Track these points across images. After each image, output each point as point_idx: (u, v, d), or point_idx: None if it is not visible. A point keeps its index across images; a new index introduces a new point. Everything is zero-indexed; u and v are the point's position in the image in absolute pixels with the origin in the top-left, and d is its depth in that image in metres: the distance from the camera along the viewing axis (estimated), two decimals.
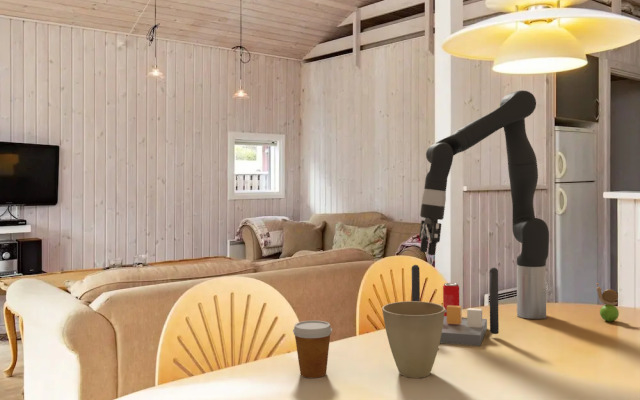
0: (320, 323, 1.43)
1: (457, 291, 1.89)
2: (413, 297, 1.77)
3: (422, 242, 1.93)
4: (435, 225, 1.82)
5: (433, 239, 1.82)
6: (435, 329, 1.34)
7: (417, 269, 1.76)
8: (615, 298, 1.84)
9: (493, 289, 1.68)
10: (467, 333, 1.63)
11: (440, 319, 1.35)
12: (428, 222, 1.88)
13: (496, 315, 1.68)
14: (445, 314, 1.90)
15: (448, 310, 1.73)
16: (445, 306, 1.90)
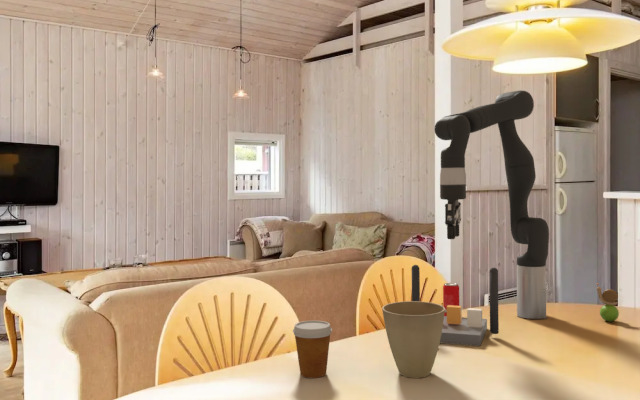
0: (320, 323, 1.43)
1: (457, 291, 1.89)
2: (413, 297, 1.77)
3: None
4: (447, 206, 1.66)
5: (446, 222, 1.66)
6: (435, 329, 1.34)
7: (417, 269, 1.76)
8: (615, 298, 1.84)
9: (493, 289, 1.68)
10: (467, 333, 1.63)
11: (440, 319, 1.35)
12: None
13: (496, 315, 1.68)
14: (445, 314, 1.90)
15: (448, 310, 1.73)
16: (445, 306, 1.90)
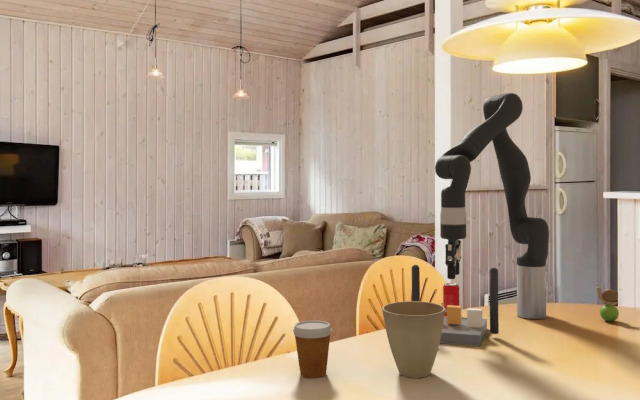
0: (320, 323, 1.43)
1: (457, 291, 1.89)
2: (413, 297, 1.77)
3: None
4: (447, 247, 1.67)
5: (446, 262, 1.67)
6: (435, 329, 1.34)
7: (417, 269, 1.76)
8: (615, 298, 1.84)
9: (493, 289, 1.68)
10: (467, 333, 1.63)
11: (440, 319, 1.35)
12: None
13: (496, 315, 1.68)
14: (445, 314, 1.90)
15: (448, 310, 1.73)
16: (445, 306, 1.90)
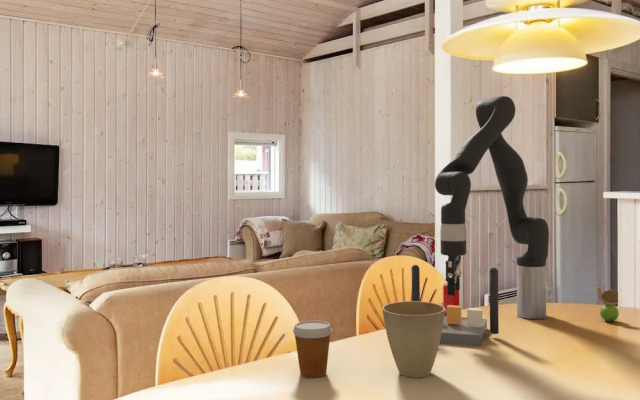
0: (320, 323, 1.43)
1: (457, 291, 1.89)
2: (413, 297, 1.77)
3: None
4: (447, 263, 1.67)
5: (447, 279, 1.67)
6: (435, 329, 1.34)
7: (417, 269, 1.76)
8: (615, 298, 1.84)
9: (493, 289, 1.68)
10: (467, 333, 1.63)
11: (440, 319, 1.35)
12: None
13: (496, 315, 1.68)
14: (445, 314, 1.90)
15: (448, 310, 1.73)
16: (445, 306, 1.90)
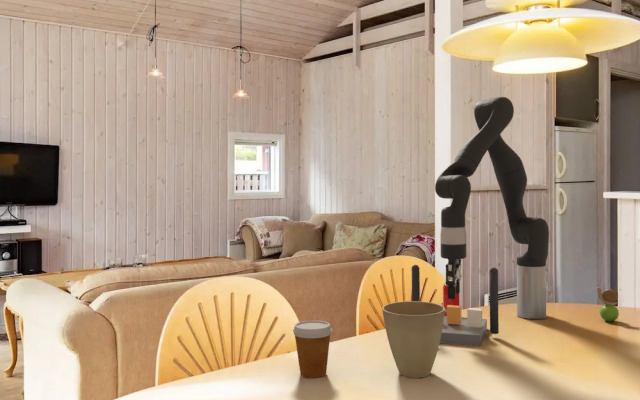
0: (320, 323, 1.43)
1: None
2: (413, 297, 1.77)
3: None
4: (447, 267, 1.67)
5: (447, 282, 1.67)
6: (435, 329, 1.34)
7: (417, 269, 1.76)
8: (615, 298, 1.84)
9: (493, 289, 1.68)
10: (467, 333, 1.63)
11: (440, 319, 1.35)
12: None
13: (496, 315, 1.68)
14: (445, 314, 1.90)
15: (448, 310, 1.73)
16: (445, 306, 1.90)
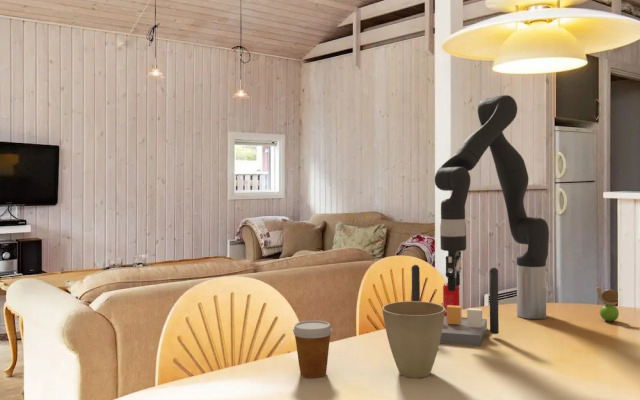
0: (320, 323, 1.43)
1: (457, 291, 1.89)
2: (413, 297, 1.77)
3: None
4: (447, 259, 1.67)
5: (447, 274, 1.67)
6: (435, 329, 1.34)
7: (417, 269, 1.76)
8: (615, 298, 1.84)
9: (493, 289, 1.68)
10: (467, 333, 1.63)
11: (440, 319, 1.35)
12: None
13: (496, 315, 1.68)
14: (445, 314, 1.90)
15: (448, 310, 1.73)
16: (445, 306, 1.90)
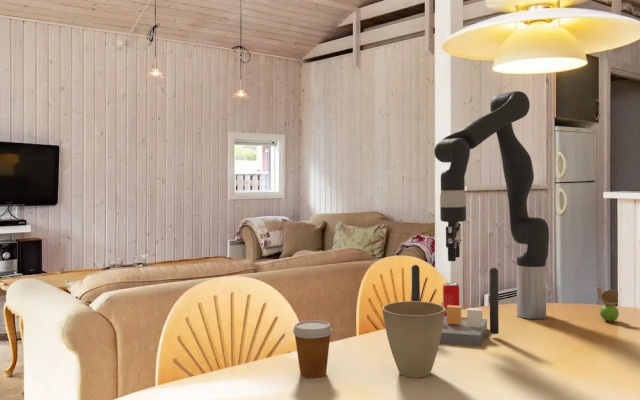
0: (320, 323, 1.43)
1: (457, 291, 1.89)
2: (413, 297, 1.77)
3: None
4: (447, 229, 1.68)
5: (447, 244, 1.68)
6: (435, 329, 1.34)
7: (417, 269, 1.76)
8: (615, 298, 1.84)
9: (493, 289, 1.68)
10: (467, 333, 1.63)
11: (440, 319, 1.35)
12: None
13: (496, 315, 1.68)
14: (445, 314, 1.90)
15: (448, 310, 1.73)
16: (445, 306, 1.90)
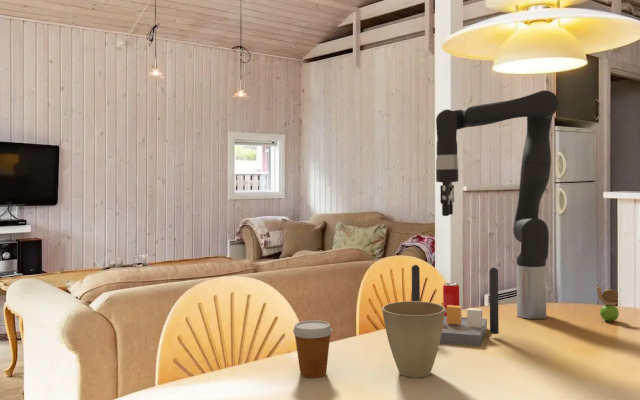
0: (320, 323, 1.43)
1: (457, 291, 1.89)
2: (413, 297, 1.77)
3: None
4: (442, 187, 1.94)
5: (441, 201, 1.94)
6: (435, 329, 1.34)
7: (417, 269, 1.76)
8: (615, 298, 1.84)
9: (493, 289, 1.68)
10: (467, 333, 1.63)
11: (440, 319, 1.35)
12: None
13: (496, 315, 1.68)
14: (445, 314, 1.90)
15: (448, 310, 1.73)
16: (445, 306, 1.90)
